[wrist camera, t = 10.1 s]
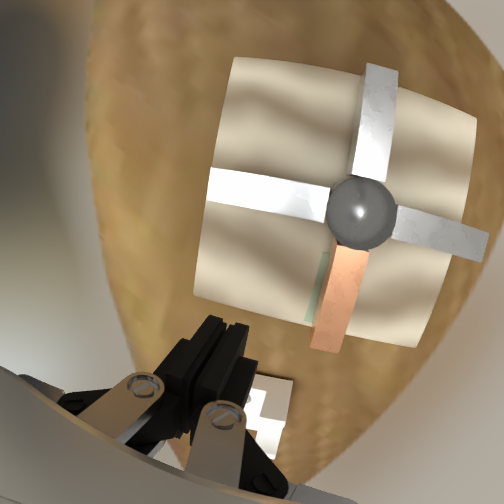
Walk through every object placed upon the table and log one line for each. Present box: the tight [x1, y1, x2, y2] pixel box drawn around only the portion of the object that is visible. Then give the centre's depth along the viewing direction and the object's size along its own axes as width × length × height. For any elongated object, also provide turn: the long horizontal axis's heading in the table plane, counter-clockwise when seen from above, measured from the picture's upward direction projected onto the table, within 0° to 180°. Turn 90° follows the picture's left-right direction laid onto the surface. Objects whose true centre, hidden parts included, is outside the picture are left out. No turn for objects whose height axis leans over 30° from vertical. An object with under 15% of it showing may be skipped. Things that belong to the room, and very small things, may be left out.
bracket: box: [244, 374, 293, 459], centre depth 30 cm, size 13×7×8 cm, turn 84°
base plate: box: [193, 57, 477, 348], centre depth 25 cm, size 24×24×2 cm
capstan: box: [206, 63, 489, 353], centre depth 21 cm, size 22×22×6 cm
